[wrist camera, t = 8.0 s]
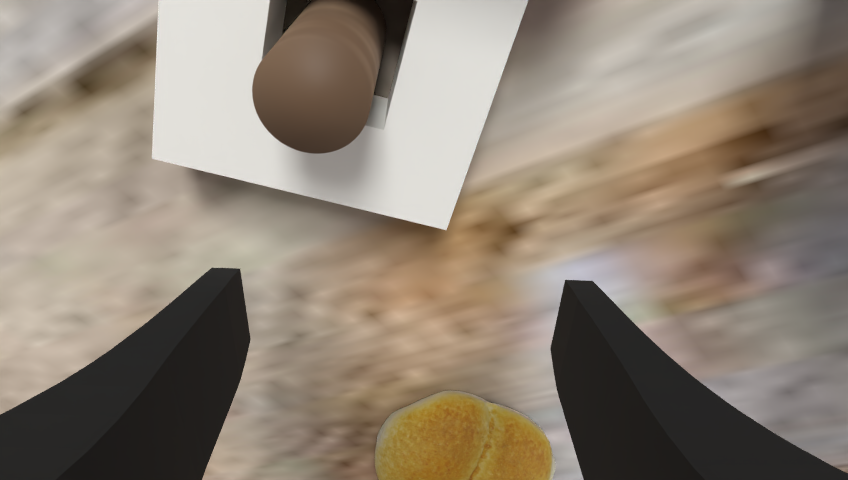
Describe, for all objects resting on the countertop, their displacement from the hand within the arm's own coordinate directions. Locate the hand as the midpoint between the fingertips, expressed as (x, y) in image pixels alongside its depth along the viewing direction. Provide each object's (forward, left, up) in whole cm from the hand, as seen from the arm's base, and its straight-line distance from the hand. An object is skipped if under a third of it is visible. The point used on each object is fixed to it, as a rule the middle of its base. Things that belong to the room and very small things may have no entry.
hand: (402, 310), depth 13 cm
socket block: (+3, -3, -10) cm, 11 cm away
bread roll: (-7, +16, -11) cm, 21 cm away
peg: (+3, -3, -10) cm, 11 cm away
